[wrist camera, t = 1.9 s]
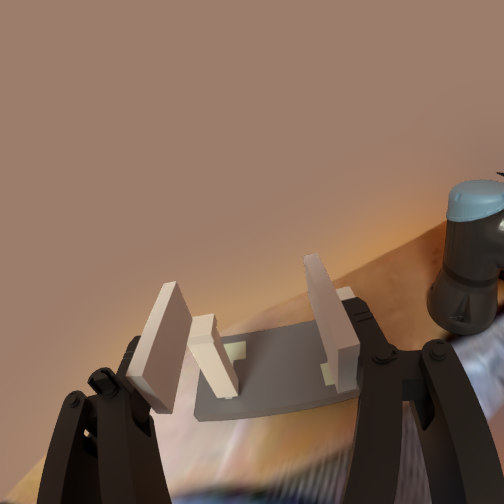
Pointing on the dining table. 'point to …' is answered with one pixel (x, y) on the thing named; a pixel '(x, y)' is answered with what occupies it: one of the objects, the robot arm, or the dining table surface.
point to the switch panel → (273, 375)
